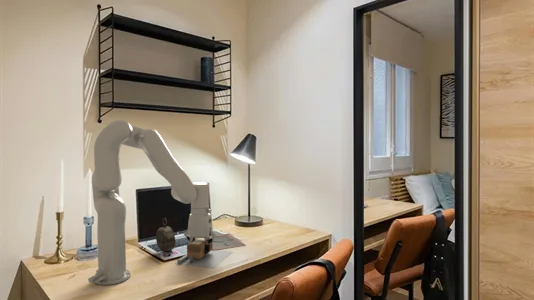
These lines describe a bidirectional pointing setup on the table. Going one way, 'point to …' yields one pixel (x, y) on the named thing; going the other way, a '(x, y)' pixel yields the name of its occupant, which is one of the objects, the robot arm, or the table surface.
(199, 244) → the brown cardboard box
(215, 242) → the picture frame
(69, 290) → the table surface
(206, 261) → the wall board
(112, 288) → the table surface
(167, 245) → the alarm clock
